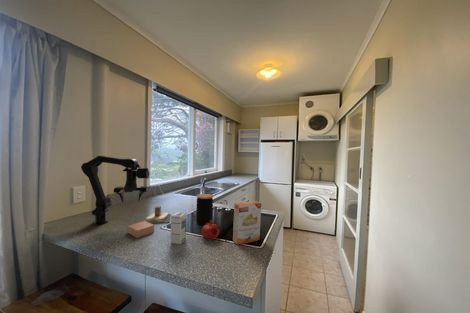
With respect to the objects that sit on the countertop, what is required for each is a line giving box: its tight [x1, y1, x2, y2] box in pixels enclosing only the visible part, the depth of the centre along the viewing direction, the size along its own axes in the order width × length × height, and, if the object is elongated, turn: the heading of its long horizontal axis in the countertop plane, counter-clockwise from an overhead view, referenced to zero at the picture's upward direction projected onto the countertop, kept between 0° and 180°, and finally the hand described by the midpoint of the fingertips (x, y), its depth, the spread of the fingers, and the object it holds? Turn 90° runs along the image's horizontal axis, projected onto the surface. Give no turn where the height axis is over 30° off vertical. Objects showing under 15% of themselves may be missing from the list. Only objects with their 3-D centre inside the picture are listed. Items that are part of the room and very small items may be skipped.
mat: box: [143, 213, 172, 225], centre depth 134 cm, size 16×16×1 cm
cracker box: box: [232, 200, 262, 246], centre depth 106 cm, size 14×6×21 cm, turn 117°
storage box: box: [127, 220, 155, 239], centre depth 113 cm, size 10×10×4 cm
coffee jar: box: [195, 193, 214, 226], centre depth 131 cm, size 11×11×18 cm
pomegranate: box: [201, 220, 220, 241], centre depth 109 cm, size 10×10×9 cm
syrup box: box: [170, 211, 187, 245], centre depth 103 cm, size 6×6×14 cm
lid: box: [145, 205, 170, 222], centre depth 134 cm, size 11×11×8 cm
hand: (131, 202), depth 126 cm, fingers open, 9 cm apart
